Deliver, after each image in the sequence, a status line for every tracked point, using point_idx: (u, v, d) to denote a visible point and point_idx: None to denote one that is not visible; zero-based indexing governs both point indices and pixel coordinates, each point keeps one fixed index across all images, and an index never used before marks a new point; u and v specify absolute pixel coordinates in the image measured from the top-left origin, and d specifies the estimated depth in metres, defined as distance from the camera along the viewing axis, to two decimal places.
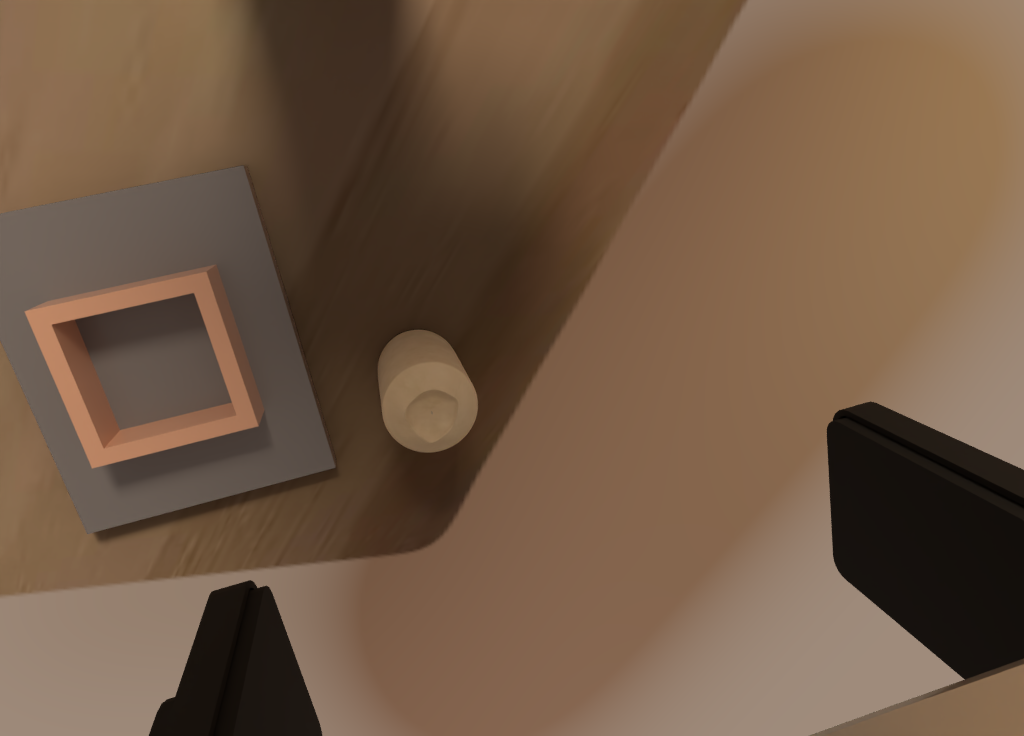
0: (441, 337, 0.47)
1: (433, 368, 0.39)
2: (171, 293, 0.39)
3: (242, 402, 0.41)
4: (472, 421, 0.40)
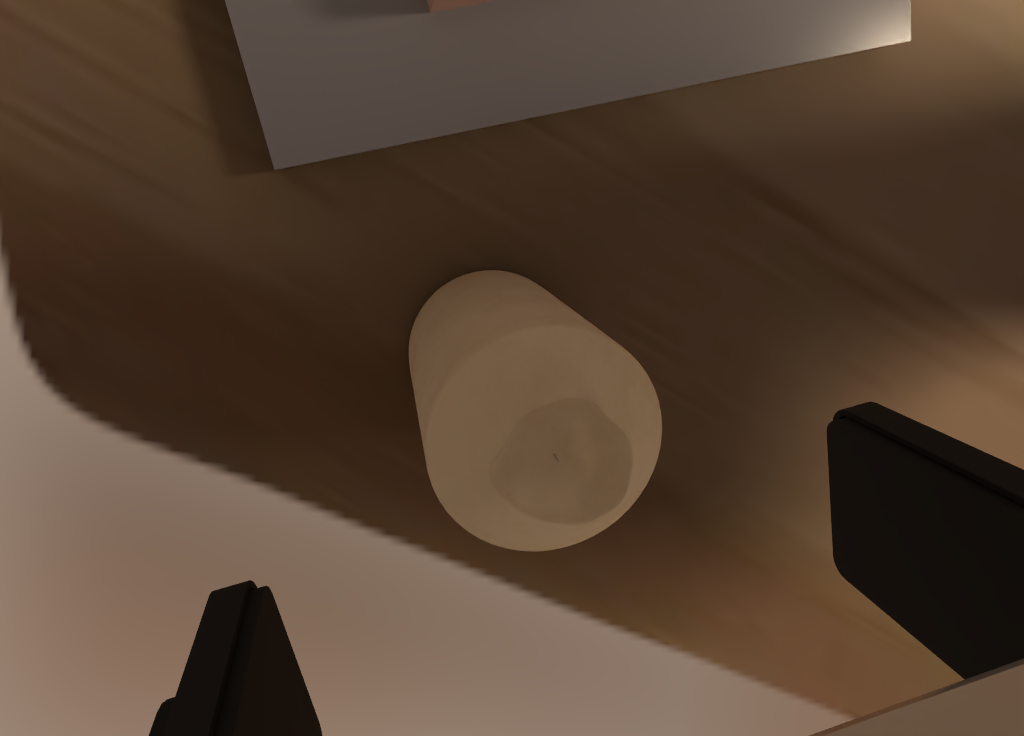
0: None
1: (654, 449, 0.16)
2: None
3: None
4: (511, 545, 0.16)
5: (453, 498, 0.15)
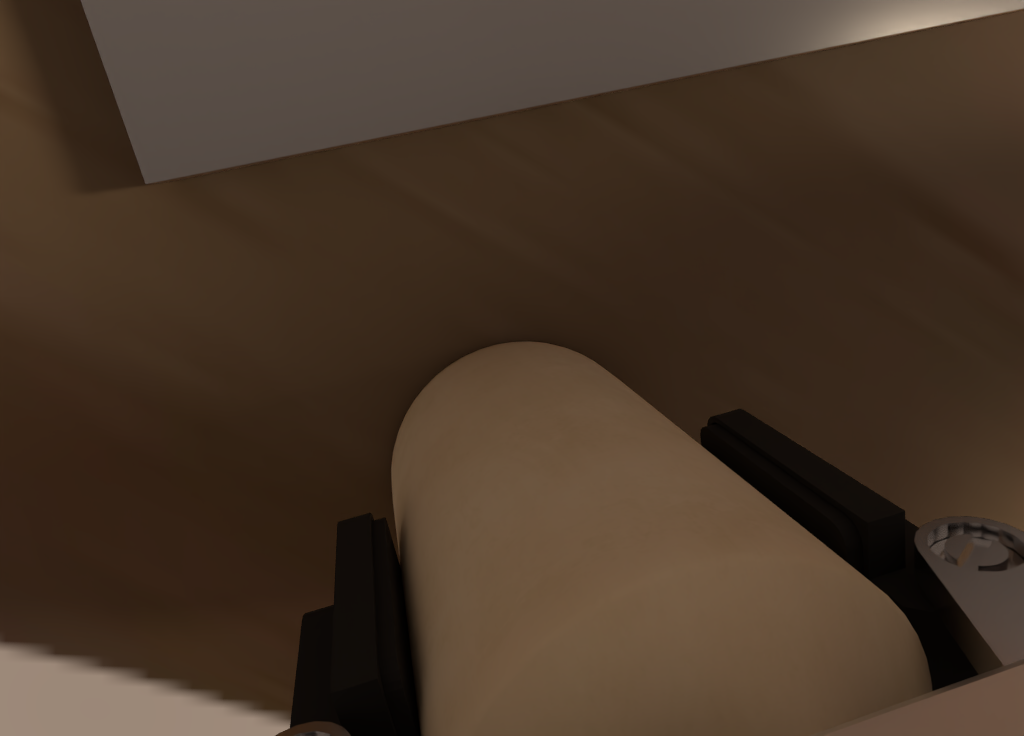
0: None
1: None
2: None
3: None
4: None
5: None
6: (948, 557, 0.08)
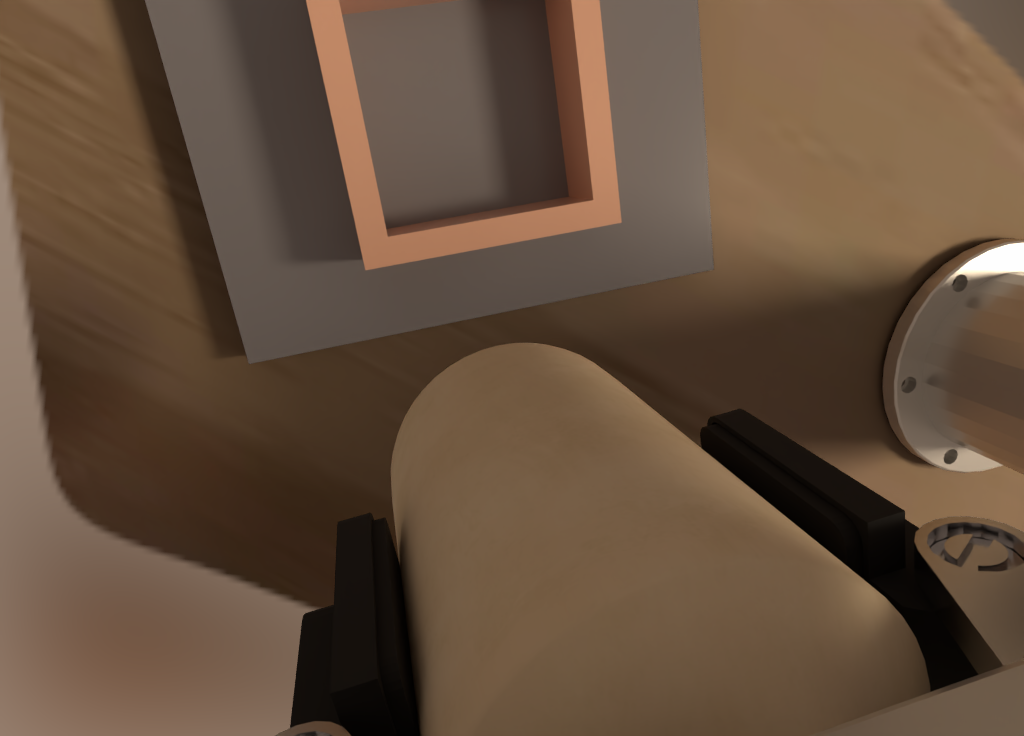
0: None
1: None
2: (595, 166, 0.25)
3: (410, 249, 0.24)
4: None
5: None
6: (948, 557, 0.08)
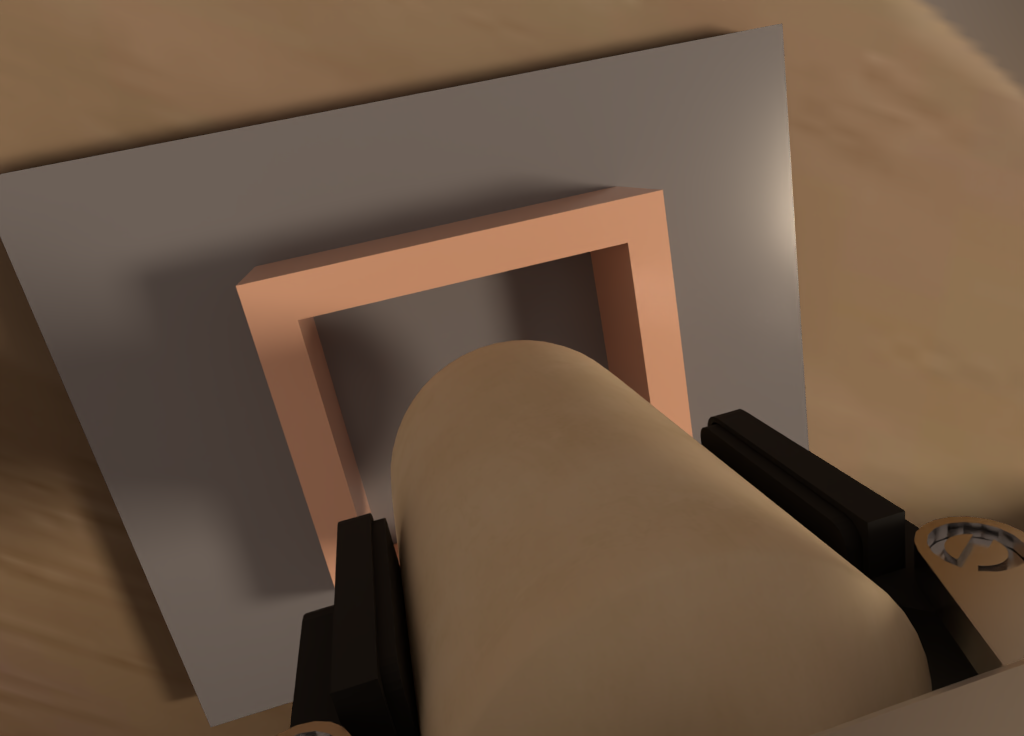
0: None
1: None
2: None
3: None
4: None
5: None
6: (948, 557, 0.08)
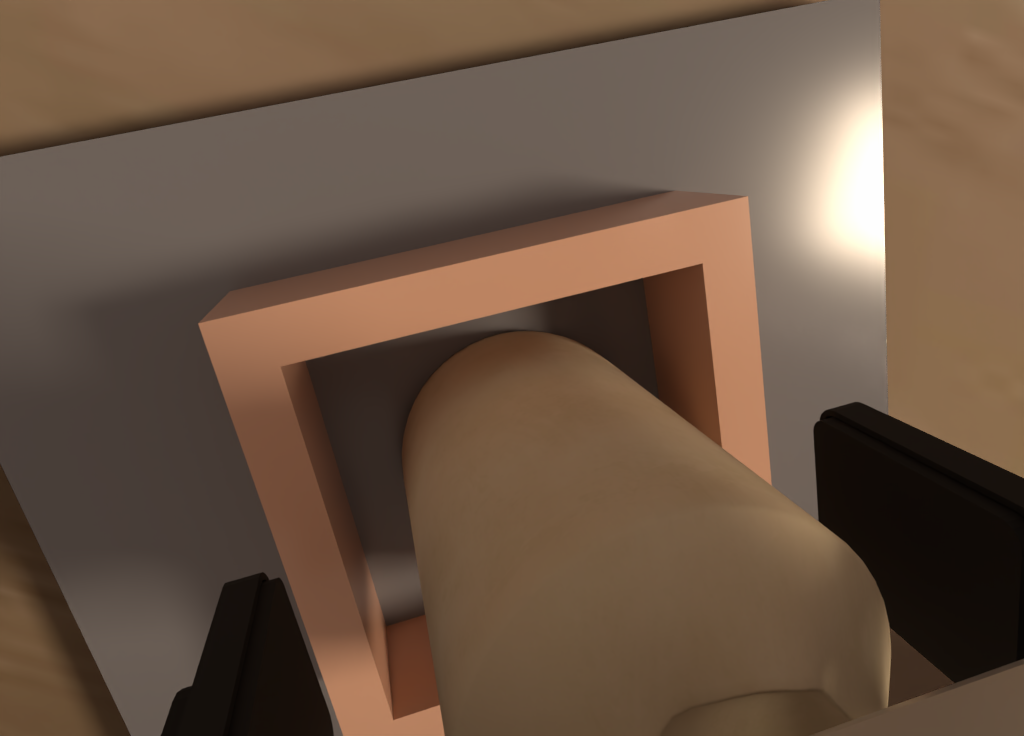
0: None
1: None
2: None
3: (433, 730, 0.14)
4: None
5: None
6: None
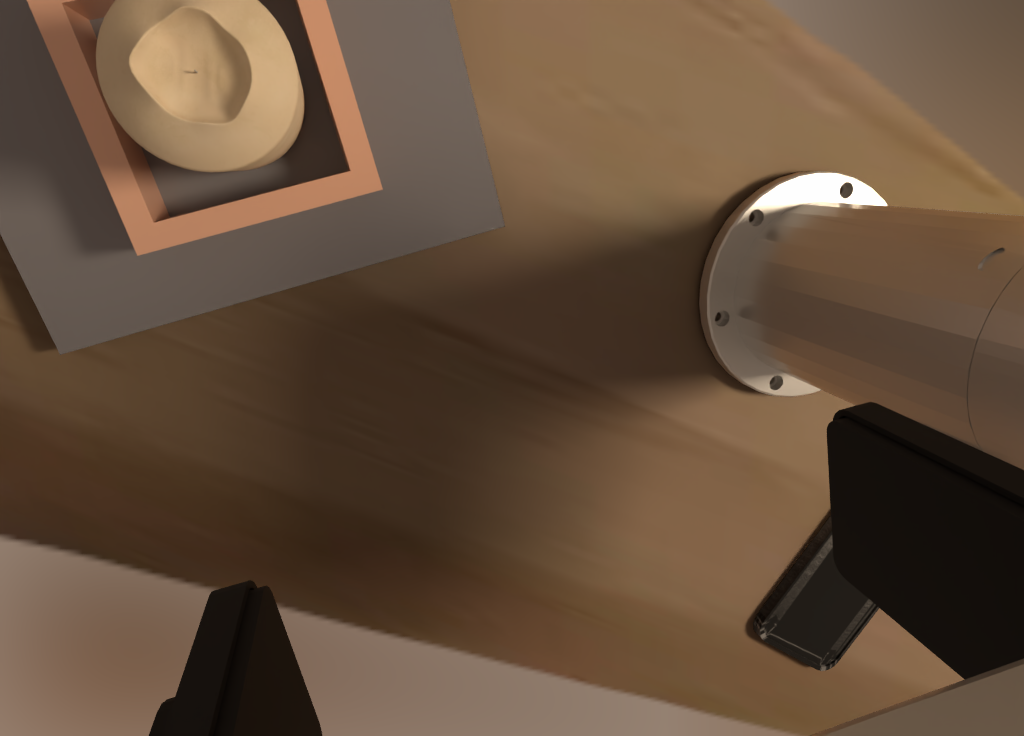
0: (296, 138, 0.28)
1: (287, 78, 0.21)
2: (347, 139, 0.27)
3: (178, 232, 0.26)
4: (182, 160, 0.21)
5: (123, 112, 0.20)
6: None
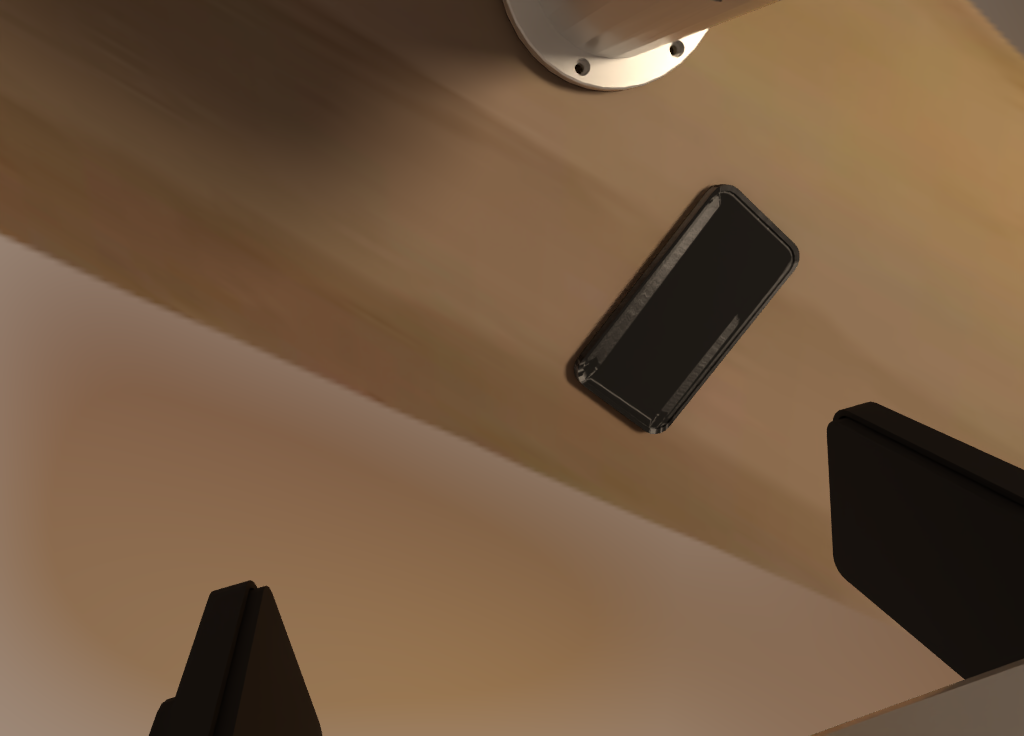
0: None
1: None
2: None
3: None
4: None
5: None
6: None
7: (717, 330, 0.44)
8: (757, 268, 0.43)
